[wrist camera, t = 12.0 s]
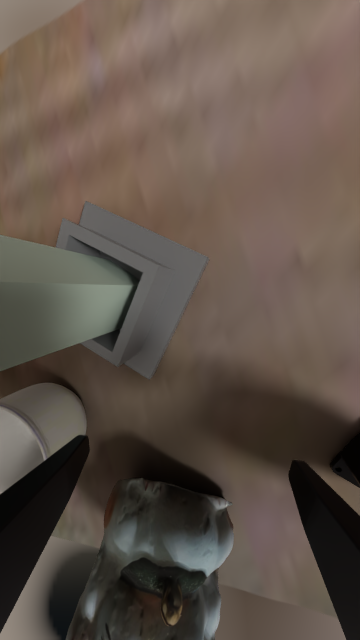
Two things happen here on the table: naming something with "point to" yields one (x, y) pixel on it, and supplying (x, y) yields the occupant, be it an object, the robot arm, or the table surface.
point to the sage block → (56, 299)
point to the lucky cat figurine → (156, 566)
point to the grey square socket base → (152, 292)
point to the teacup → (36, 427)
